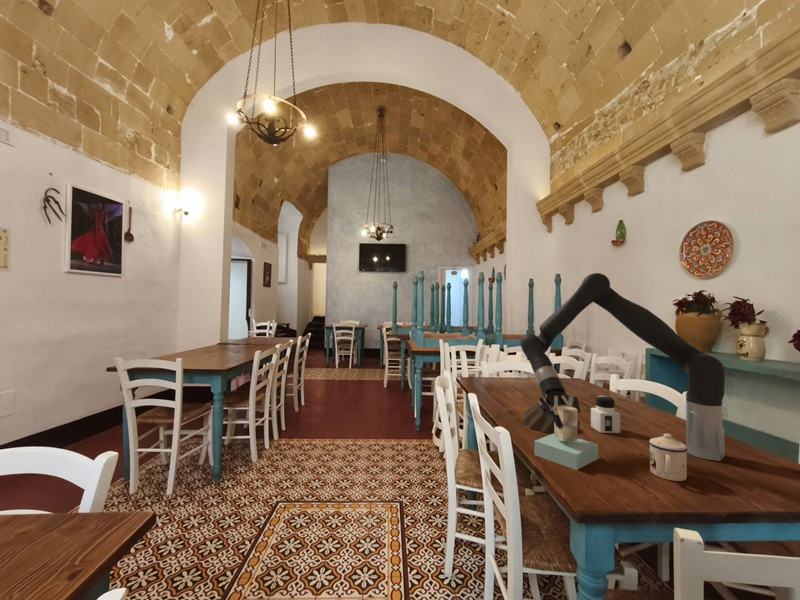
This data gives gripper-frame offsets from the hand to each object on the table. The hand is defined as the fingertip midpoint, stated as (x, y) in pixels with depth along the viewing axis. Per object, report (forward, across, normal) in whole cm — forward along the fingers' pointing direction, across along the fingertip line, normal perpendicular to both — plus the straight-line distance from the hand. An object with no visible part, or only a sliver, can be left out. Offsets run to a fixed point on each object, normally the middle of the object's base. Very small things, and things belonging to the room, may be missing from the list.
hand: (569, 427), depth 117 cm
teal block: (+6, 0, +9) cm, 11 cm away
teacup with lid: (+18, +21, -3) cm, 28 cm away
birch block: (+2, 0, +4) cm, 5 cm away
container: (-10, +31, +24) cm, 41 cm away
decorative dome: (-15, +11, +30) cm, 35 cm away
